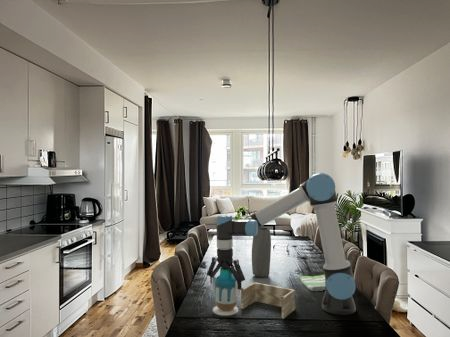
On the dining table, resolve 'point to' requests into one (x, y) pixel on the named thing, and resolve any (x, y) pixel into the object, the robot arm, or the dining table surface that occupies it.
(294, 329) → the dining table surface
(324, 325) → the dining table surface
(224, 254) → the robot arm
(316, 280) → the dish towel
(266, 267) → the vase
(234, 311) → the disc
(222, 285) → the vase
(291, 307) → the light wood u-shaped piece
